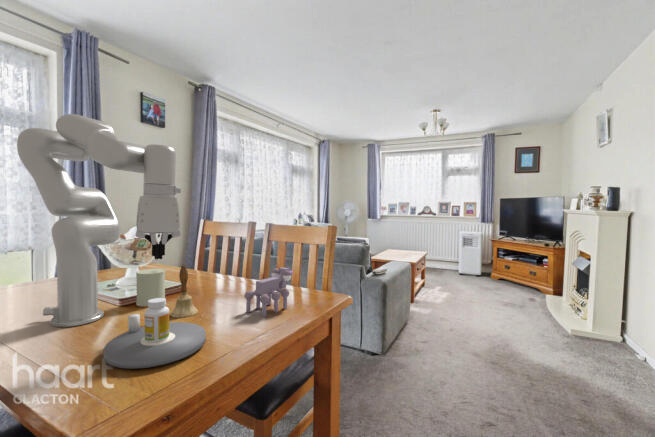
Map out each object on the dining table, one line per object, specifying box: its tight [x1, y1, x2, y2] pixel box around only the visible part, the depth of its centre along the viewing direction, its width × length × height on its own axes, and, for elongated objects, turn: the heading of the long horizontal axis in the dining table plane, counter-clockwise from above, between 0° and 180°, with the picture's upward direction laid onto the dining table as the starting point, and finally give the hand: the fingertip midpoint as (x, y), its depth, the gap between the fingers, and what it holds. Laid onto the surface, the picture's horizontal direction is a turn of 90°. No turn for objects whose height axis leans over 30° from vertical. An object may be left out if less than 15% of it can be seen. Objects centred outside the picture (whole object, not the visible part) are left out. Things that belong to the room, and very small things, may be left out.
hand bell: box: [169, 264, 199, 319], centre depth 101 cm, size 8×8×16 cm
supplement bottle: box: [144, 297, 170, 343], centre depth 76 cm, size 5×5×10 cm
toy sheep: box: [244, 267, 294, 318], centre depth 108 cm, size 20×11×14 cm, turn 145°
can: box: [135, 268, 166, 308], centre depth 111 cm, size 9×9×12 cm
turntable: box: [103, 313, 207, 370], centre depth 76 cm, size 22×22×6 cm
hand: (158, 258), depth 84 cm, fingers closed
